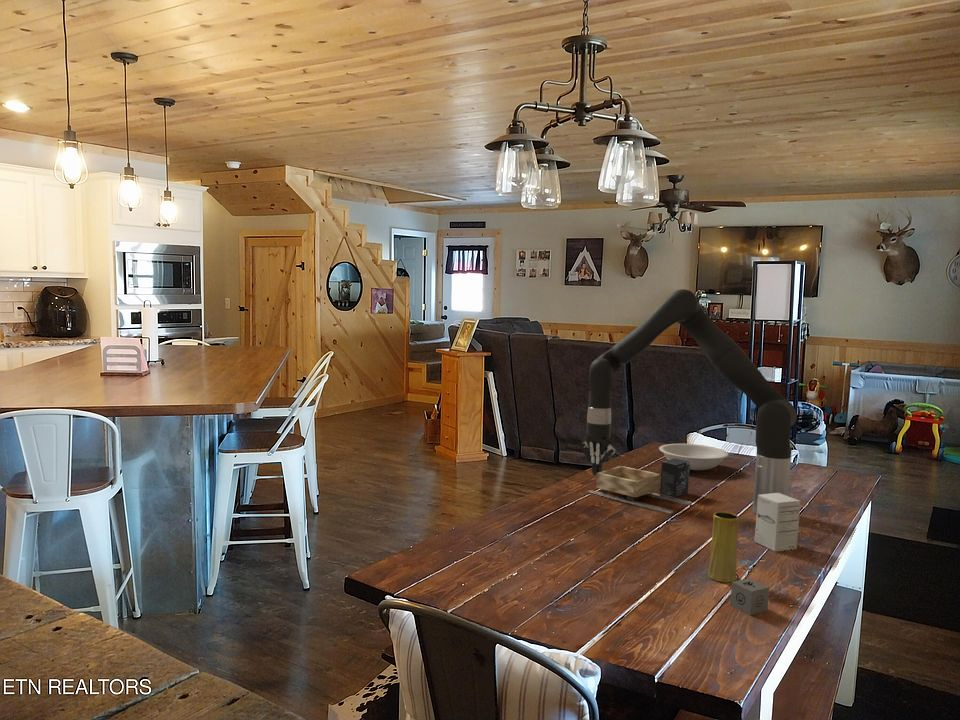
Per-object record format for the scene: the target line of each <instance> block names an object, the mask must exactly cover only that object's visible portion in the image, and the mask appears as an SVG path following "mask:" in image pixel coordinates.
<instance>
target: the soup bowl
mask: <svg viewBox="0 0 960 720" xmlns="http://www.w3.org/2000/svg"><path fill="white" fill-rule="evenodd" d="M658 449H659V452H661V453H662V454H663V455H664V457H665V458H666V459H667V460H670V459H674V458H676V459H681V460H685V461H689V462H690V468H689V471H690V470H691V471H692V470H693V471H706V470H707V471H708V470H711V469H713V468H715V467H717V466H718V465H720V464H721V463H722V461H723V460H724V459H727V458H728V457H729V453H728V452H727V451H726V450H724V449H722V448H721V449H720V448H717V447H714V446H708V445H704V444H703V445H702V444H694V443H669V444H663V445H660V446H659V447H658ZM667 460H666V461H667Z"/></svg>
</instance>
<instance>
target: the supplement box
mask: <svg viewBox="0 0 960 720" xmlns="http://www.w3.org/2000/svg"><path fill="white" fill-rule="evenodd" d="M801 502H802V501H801V500H799V499H798V498H797V499H796V498H793V497H789V496H786V495H783V494H781V493H770V494H761V495H758V503H757V514H756V515H755V516H756V519H755V530H754V531H755V532H754V543H757V544H759V545H761V546H763V547H765V548H767V549H768V550H771V551H772V552H785V551H790V550H791V549H792V550H796V549H797V548H798V547H797V546H798V538H799V537H798V536H799V535H798V534H799V526H800V525H799V524H800V523H799V522H800V513H801ZM784 550H785V551H784Z"/></svg>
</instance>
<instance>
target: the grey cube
mask: <svg viewBox="0 0 960 720" xmlns="http://www.w3.org/2000/svg"><path fill="white" fill-rule="evenodd" d="M730 591H731V592H730V601H729V603H730V604H729V606H731V607H733V609H734V608H735V609H737V610H739V611H740V612H742V613H745V615H748V616H752V615H753V616H754V615H757V614H761V613H764V611H765V612H768V610H769V609H768V608H769V594H770V587H769V586H767V585H766V584H763V583H761V582H758V581H756V580H754V579H753V578H750V577H749V578H748V577H747V578H745V579H744V578H743V579H740V580H736V581H734V582H731V587H730ZM760 612H761V613H760Z"/></svg>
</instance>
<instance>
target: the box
mask: <svg viewBox="0 0 960 720" xmlns="http://www.w3.org/2000/svg"><path fill="white" fill-rule="evenodd" d="M689 468H690V462H689V461H685V460H681V459H676V458H674V459H670V460H662V462H661V468H660V469H661V471H660V485H659V494H660V495H664V496H669V497H673V498H677V497H680V496H684V495H687V494H688V493H689V479H690V470H689Z"/></svg>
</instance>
